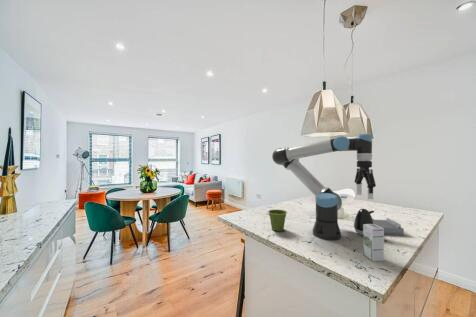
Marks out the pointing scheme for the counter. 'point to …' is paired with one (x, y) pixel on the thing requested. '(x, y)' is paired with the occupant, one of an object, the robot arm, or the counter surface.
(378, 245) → the syrup box
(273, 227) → the plant pot
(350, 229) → the counter surface
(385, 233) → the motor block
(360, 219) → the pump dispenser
